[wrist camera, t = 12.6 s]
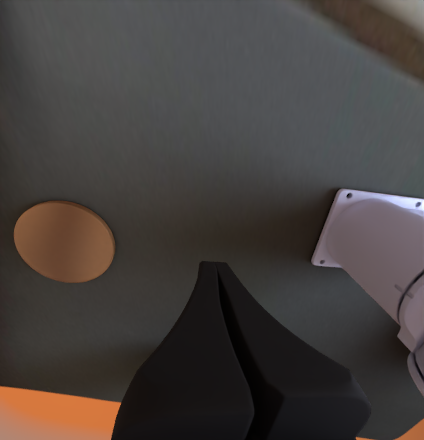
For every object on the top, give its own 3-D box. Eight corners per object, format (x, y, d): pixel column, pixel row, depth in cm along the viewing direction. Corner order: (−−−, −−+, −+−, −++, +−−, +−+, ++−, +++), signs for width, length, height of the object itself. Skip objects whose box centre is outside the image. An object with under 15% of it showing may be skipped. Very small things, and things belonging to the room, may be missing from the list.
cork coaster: (114, 205, 19) (112, 208, 19) (116, 281, 22) (114, 285, 22) (9, 195, 18) (4, 197, 18) (27, 276, 21) (22, 280, 21)
